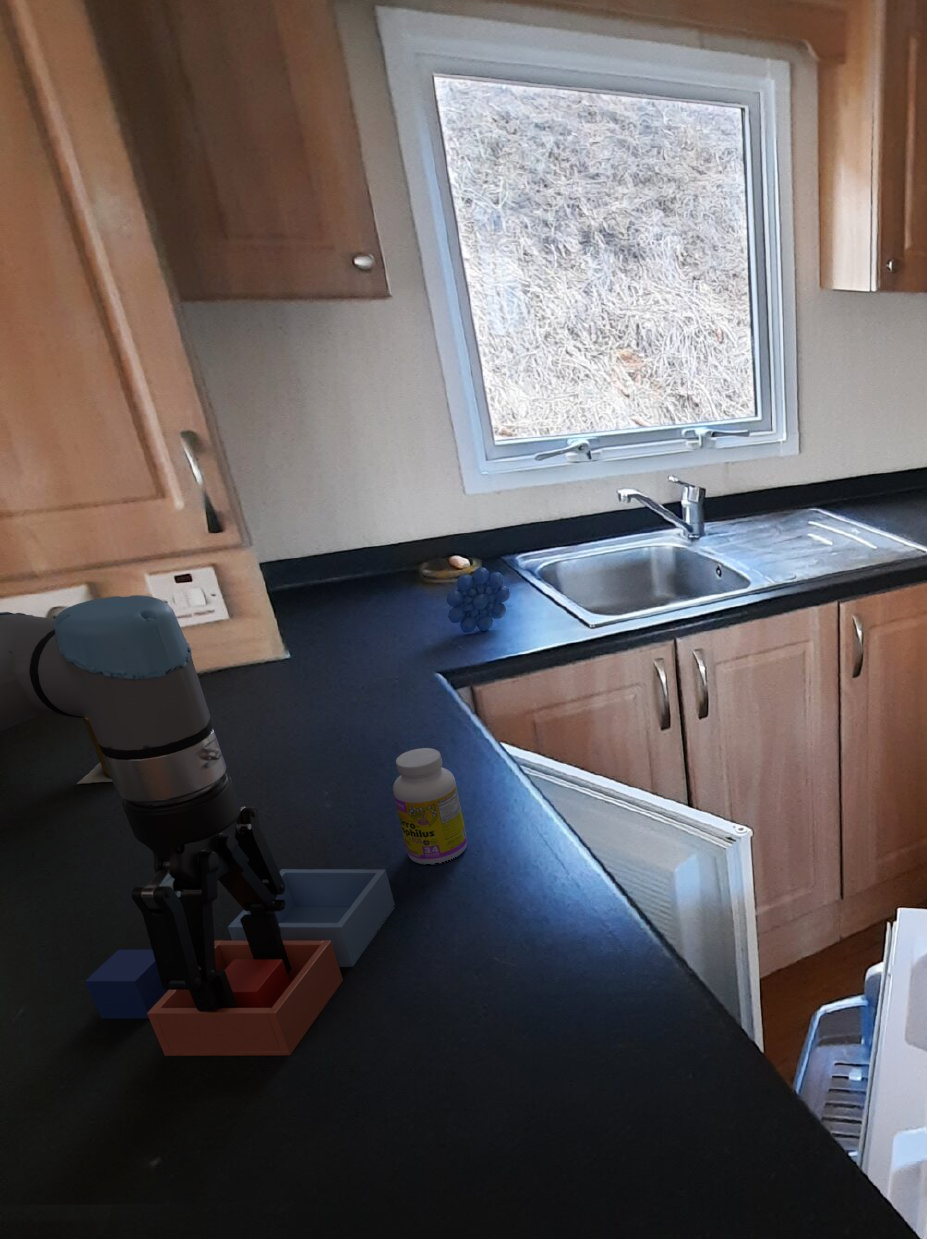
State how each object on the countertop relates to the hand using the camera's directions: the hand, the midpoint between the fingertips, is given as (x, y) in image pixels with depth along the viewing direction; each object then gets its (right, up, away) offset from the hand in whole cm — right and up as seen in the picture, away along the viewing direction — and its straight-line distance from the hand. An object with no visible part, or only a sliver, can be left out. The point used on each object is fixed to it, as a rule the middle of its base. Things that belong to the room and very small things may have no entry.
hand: (252, 999), depth 90 cm
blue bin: (0, +3, +12) cm, 12 cm away
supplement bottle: (+5, +10, +26) cm, 29 cm away
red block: (0, -1, +1) cm, 2 cm away
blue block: (-12, -1, +2) cm, 12 cm away
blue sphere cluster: (-18, +45, +93) cm, 105 cm away
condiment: (-45, +20, +42) cm, 65 cm away
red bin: (0, -2, +1) cm, 2 cm away
